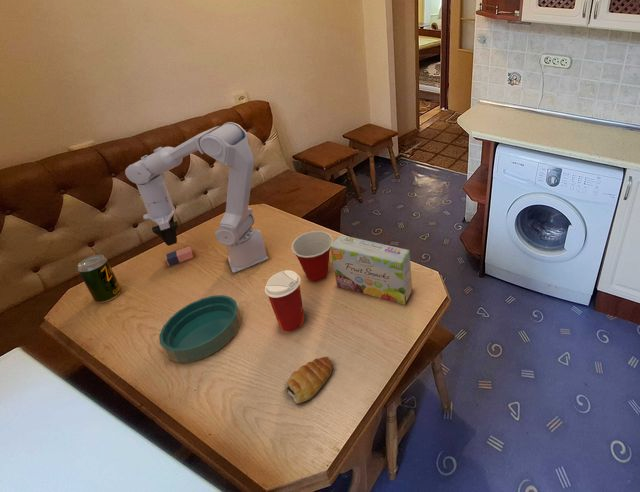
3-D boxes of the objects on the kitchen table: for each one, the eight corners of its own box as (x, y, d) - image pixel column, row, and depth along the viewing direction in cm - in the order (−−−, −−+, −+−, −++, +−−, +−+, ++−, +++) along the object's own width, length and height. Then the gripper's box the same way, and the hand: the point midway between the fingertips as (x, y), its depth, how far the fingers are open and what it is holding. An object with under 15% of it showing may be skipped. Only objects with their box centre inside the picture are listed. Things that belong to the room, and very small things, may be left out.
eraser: (192, 252, 112) (189, 245, 111) (193, 257, 110) (190, 251, 109) (167, 261, 108) (165, 254, 107) (168, 266, 106) (165, 259, 105)
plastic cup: (320, 293, 98) (313, 259, 93) (289, 282, 102) (282, 249, 97) (345, 267, 108) (340, 235, 103) (316, 257, 111) (310, 226, 106)
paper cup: (315, 314, 92) (306, 273, 86) (293, 340, 85) (282, 297, 80) (291, 306, 94) (281, 265, 89) (267, 330, 87) (255, 287, 82)
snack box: (335, 288, 100) (328, 245, 94) (346, 274, 105) (340, 232, 99) (404, 306, 95) (402, 262, 89) (413, 290, 100) (411, 248, 94)
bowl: (234, 298, 96) (230, 286, 94) (247, 337, 86) (243, 324, 84) (163, 330, 87) (157, 317, 85) (168, 378, 76) (161, 364, 75)
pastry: (322, 355, 82) (319, 344, 80) (340, 372, 78) (338, 361, 77) (282, 390, 75) (279, 378, 73) (301, 410, 71) (298, 398, 70)
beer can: (92, 307, 92) (73, 271, 88) (97, 293, 97) (79, 258, 92) (120, 298, 95) (103, 263, 90) (123, 285, 99) (107, 251, 95)
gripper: (137, 192, 103) (152, 230, 108) (138, 215, 93) (155, 256, 98) (168, 184, 107) (181, 221, 112) (172, 205, 97) (186, 245, 102)
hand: (171, 237), depth 105 cm, fingers open, 7 cm apart
